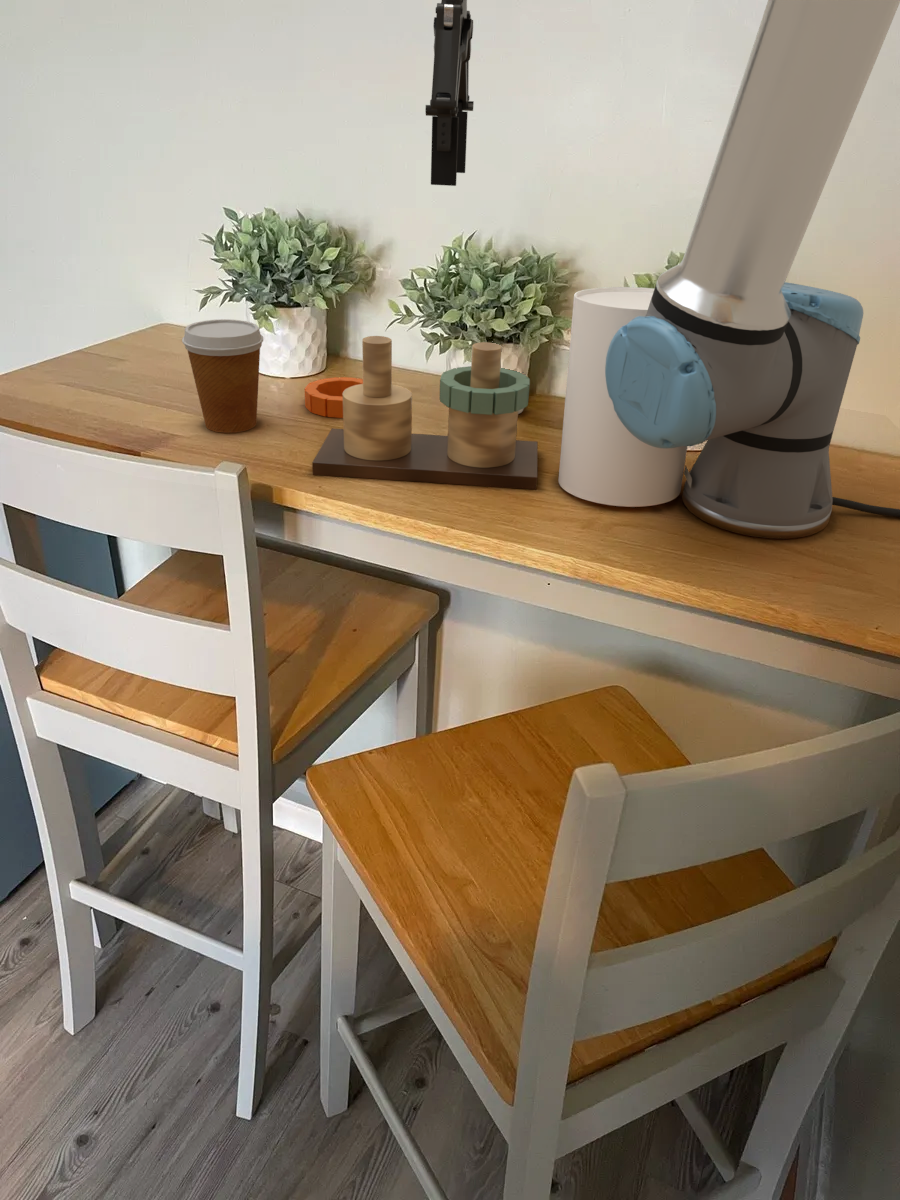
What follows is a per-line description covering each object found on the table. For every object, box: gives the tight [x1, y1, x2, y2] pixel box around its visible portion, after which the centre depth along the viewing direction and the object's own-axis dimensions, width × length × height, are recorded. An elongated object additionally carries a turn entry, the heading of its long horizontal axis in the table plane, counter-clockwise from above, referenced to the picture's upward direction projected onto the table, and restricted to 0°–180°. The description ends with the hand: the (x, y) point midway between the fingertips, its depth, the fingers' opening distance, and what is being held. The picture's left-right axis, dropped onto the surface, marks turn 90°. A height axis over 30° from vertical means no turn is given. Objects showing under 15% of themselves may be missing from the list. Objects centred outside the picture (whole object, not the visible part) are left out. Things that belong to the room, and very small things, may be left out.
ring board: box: [311, 335, 538, 491], centre depth 101 cm, size 25×11×14 cm, turn 85°
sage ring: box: [439, 365, 531, 415], centre depth 99 cm, size 10×10×2 cm
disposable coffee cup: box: [181, 318, 264, 434], centre depth 110 cm, size 10×10×12 cm
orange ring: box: [304, 376, 363, 419], centre depth 120 cm, size 10×10×2 cm
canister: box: [557, 286, 688, 508], centre depth 96 cm, size 14×14×20 cm
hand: (448, 178), depth 103 cm, fingers open, 13 cm apart
